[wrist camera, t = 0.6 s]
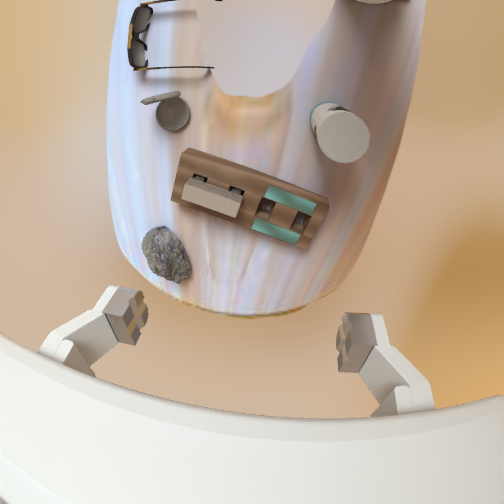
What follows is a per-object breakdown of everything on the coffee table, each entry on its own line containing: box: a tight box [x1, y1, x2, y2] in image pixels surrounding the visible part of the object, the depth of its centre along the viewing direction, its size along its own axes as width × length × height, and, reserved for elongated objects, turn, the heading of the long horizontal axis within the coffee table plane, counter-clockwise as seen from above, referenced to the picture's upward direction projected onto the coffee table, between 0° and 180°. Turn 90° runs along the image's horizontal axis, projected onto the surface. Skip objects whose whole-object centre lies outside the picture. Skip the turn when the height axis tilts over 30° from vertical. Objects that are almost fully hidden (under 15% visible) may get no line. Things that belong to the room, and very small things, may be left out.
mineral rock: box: [142, 226, 191, 284], centre depth 60 cm, size 13×11×10 cm
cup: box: [310, 102, 370, 163], centre depth 37 cm, size 7×7×15 cm
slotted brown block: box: [171, 148, 329, 249], centre depth 52 cm, size 10×28×4 cm, turn 71°
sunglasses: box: [127, 0, 222, 71], centre depth 34 cm, size 14×15×5 cm
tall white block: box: [181, 174, 243, 218], centre depth 50 cm, size 3×10×8 cm, turn 71°
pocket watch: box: [141, 91, 190, 131], centre depth 41 cm, size 8×8×10 cm
